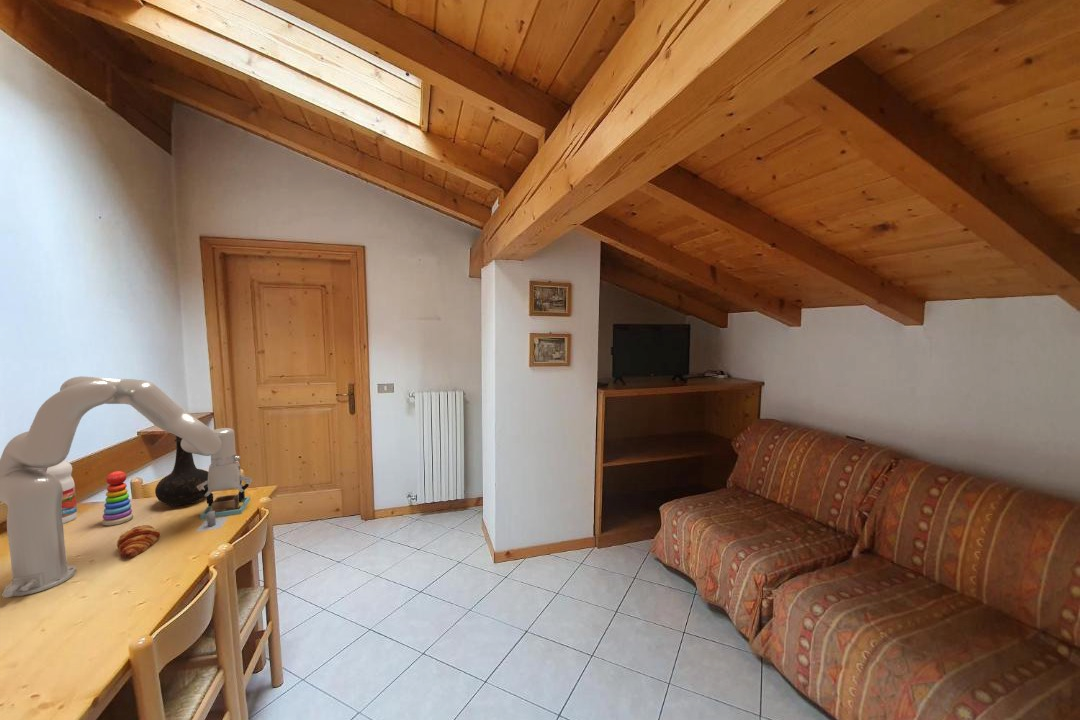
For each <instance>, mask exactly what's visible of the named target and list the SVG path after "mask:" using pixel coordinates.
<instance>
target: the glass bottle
mask: <svg viewBox="0 0 1080 720" xmlns="http://www.w3.org/2000/svg"><path fill="white" fill-rule="evenodd" d="M181 441H182V438H180V437H178V436H176V435H175V439H174V442H176V447H175V449H176V451H175V460H174V465H173V468H172V471H171V473H169V474H168V475H166V476H164V477H163V478H161V480H159V482H158V483H156V486H155V489H154V490H155V491H154V493H155V496H156V497H155V498H157V500H158V501H159V502H161V503H162V504H164V505H168V506H185V505H188V504H193V503H194V502H198V501H200V500H202V499H203V498H204V497H206V496H205V495H204V494H202V493H200V491H199V490H198V488H197V486H198V485H199V484H201V483H203V482H205V481H206V480H208V471H209V470H208V471H207V470H205V469H202V468H201V469H200V468H197V466H196V464H195V461H194V456H193V453H189V452H186V451H185V450H183V449H182V447H181ZM203 487H204V488H205V489H206V490H208V484H206V485H205V486H203ZM208 491H209V490H208ZM192 502H193V503H192Z"/></svg>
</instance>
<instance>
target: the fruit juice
mask: <svg viewBox="0 0 1080 720" xmlns="http://www.w3.org/2000/svg"><path fill="white" fill-rule="evenodd" d="M72 472H73V466H72V464H71V462H69V461H67V460H66V459H65V460H64V461H62V462H61V463H59V464H58V465H55V466H52V467H48V468H47V471H46V473H47V474H50V475H52V476H54V477H55V478H57V479H58V480H59V481H60V483H61V485H62V488H63V496H62V523H63V524H66V523H69V522H72V521H73V520H75V519H77V517H78V508H77V506H78V505H77V495H76V484H75V481H74V478H73V476H72Z"/></svg>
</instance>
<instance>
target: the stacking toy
mask: <svg viewBox="0 0 1080 720" xmlns="http://www.w3.org/2000/svg"><path fill="white" fill-rule="evenodd" d="M105 480H106V483H107V484H108V486H107V487H106V491H107V492H106V493H105V496H106V497H105V503H104V509H103V514H102V521H101V523H102V525H103V526H116V525H122V524H123V523H126V522H128V521H131V520H132V519H133V518H134V513H132V512H133V508H132V504H131V500H130V498H129V497H130V494H129V493H128V491H129V490H128V488H127V487H128V486H127V483H125V481H126V480H127V474H126V472H123V471H120V470H117V471H116V470H115V471H112V472H110V473H109V474H108V475H107V476H106V479H105Z"/></svg>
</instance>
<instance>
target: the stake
mask: <svg viewBox="0 0 1080 720" xmlns="http://www.w3.org/2000/svg"><path fill="white" fill-rule="evenodd" d="M228 518H229V516H223V517H216V518H215V511H212V510H211V511H209V512H207V519H204V521H203V522H202V524H201V525H200V526H199V527H198V528H197V530H195V532H196V533H197V532H205V531H211V530H217V529H221V528H222V527H223V525H224V524H225V523H226V521H227V520H228Z"/></svg>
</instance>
